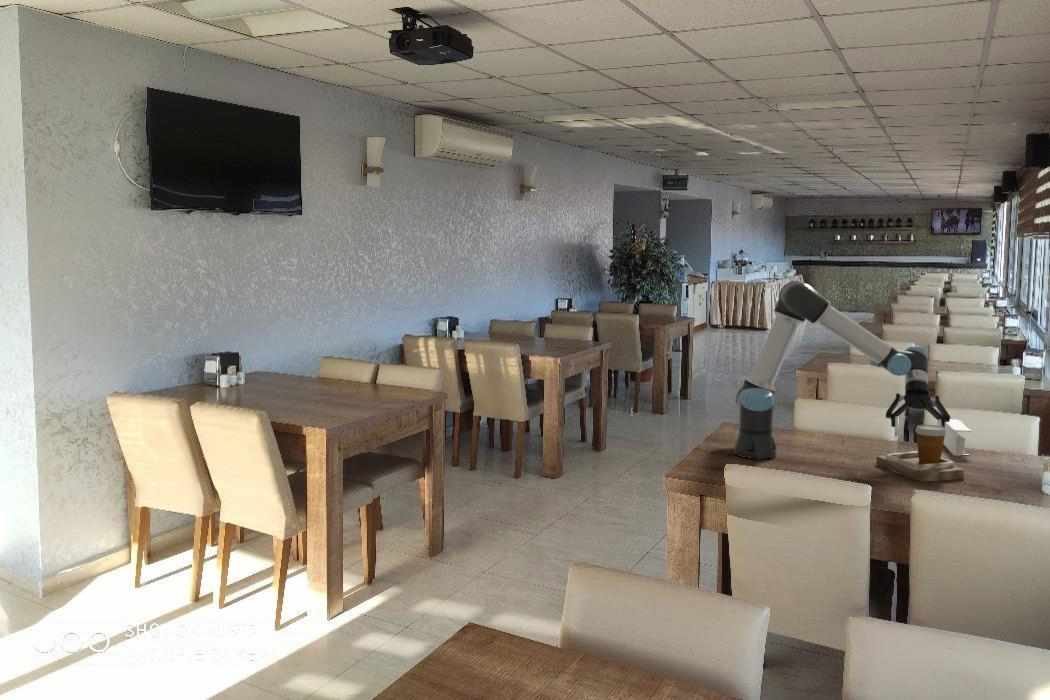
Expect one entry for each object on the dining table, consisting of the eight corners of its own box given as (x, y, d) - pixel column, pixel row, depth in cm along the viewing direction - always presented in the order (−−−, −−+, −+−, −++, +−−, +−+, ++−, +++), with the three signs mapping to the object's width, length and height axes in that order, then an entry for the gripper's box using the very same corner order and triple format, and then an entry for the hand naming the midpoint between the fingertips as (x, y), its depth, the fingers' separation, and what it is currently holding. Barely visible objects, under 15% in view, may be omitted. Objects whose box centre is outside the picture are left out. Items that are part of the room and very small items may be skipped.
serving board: (922, 482, 265) (923, 469, 264) (876, 464, 286) (877, 451, 285) (963, 478, 269) (964, 465, 269) (914, 460, 290) (915, 448, 290)
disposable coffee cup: (908, 461, 278) (909, 426, 277) (923, 457, 284) (924, 423, 282) (935, 467, 270) (937, 431, 269) (950, 462, 276) (952, 427, 275)
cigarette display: (969, 456, 296) (971, 430, 295) (952, 455, 297) (954, 430, 296) (956, 442, 315) (957, 418, 314) (940, 442, 317) (941, 418, 315)
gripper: (879, 377, 295) (879, 427, 283) (957, 381, 286) (960, 433, 274) (877, 389, 300) (877, 438, 289) (954, 393, 292) (957, 444, 280)
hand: (918, 436), depth 281 cm, fingers open, 13 cm apart
